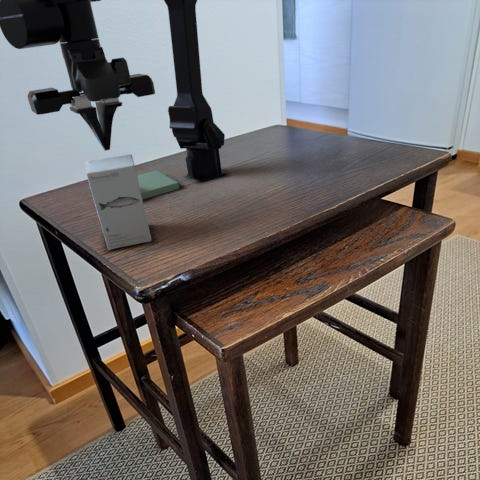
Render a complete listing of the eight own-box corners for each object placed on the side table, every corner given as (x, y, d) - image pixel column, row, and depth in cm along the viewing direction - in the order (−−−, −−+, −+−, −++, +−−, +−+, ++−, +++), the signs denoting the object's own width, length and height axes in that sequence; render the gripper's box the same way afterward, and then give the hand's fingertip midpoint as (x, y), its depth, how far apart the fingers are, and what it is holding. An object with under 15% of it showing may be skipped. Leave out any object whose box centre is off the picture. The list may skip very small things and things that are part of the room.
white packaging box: (107, 251, 72) (83, 173, 65) (106, 234, 78) (84, 160, 71) (153, 242, 73) (134, 164, 66) (148, 225, 79) (131, 152, 72)
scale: (157, 176, 102) (154, 163, 101) (181, 189, 93) (178, 175, 91) (98, 192, 97) (94, 179, 95) (117, 208, 88) (113, 194, 86)
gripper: (21, 49, 57) (60, 172, 66) (157, 32, 64) (176, 146, 73) (11, 49, 65) (47, 158, 74) (132, 34, 72) (152, 136, 81)
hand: (107, 149), depth 75 cm, fingers closed
